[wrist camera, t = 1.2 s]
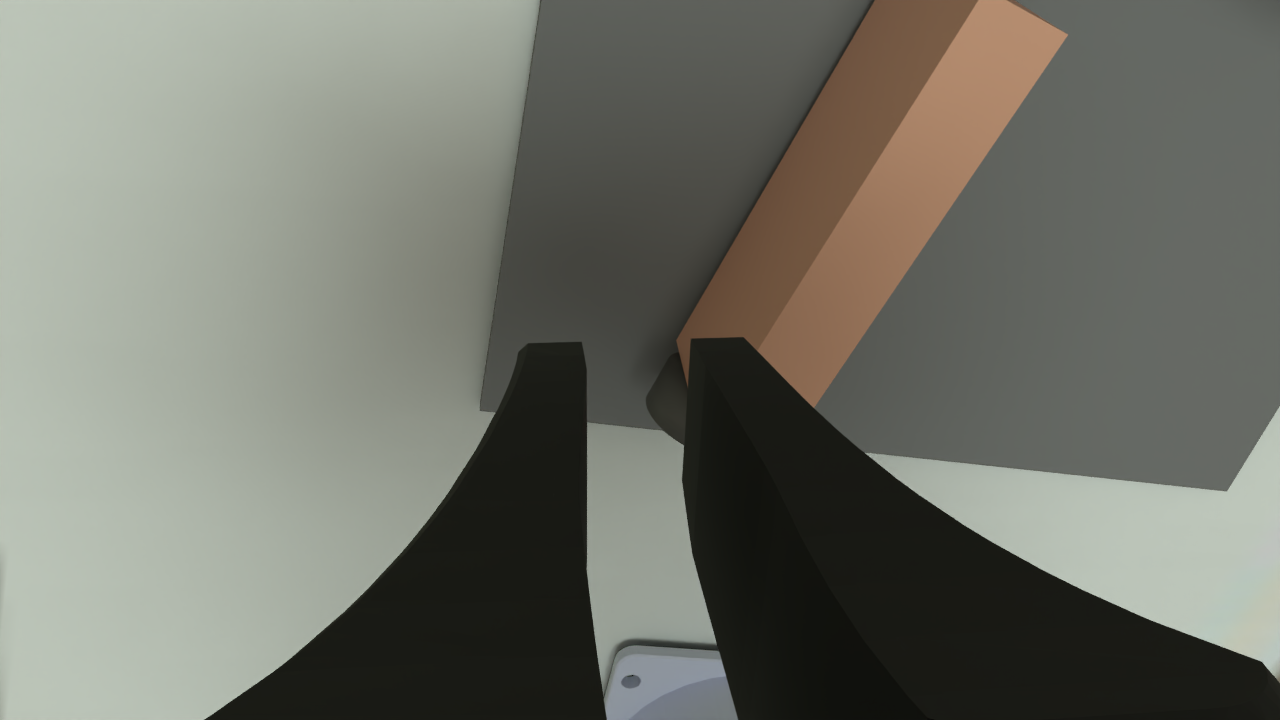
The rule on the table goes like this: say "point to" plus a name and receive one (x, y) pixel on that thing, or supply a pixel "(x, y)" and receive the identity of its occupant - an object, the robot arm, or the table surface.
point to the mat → (957, 250)
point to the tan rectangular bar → (864, 187)
